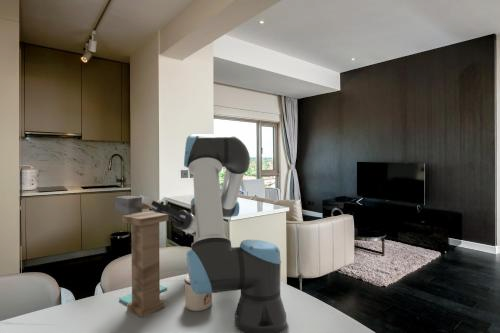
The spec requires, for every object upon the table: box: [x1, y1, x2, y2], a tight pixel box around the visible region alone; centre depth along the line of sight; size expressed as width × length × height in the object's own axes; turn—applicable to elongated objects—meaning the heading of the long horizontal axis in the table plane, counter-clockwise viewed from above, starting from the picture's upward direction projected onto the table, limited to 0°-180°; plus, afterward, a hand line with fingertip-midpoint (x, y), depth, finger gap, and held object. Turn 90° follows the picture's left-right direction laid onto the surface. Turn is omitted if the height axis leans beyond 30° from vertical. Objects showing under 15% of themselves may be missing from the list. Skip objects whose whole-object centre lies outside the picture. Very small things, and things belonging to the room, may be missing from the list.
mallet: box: [114, 195, 162, 215], centre depth 106 cm, size 15×8×5 cm, turn 144°
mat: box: [119, 284, 168, 305], centre depth 105 cm, size 6×15×1 cm, turn 144°
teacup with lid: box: [184, 274, 213, 312], centre depth 99 cm, size 12×9×12 cm
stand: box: [121, 210, 169, 318], centre depth 95 cm, size 10×10×30 cm
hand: (141, 198), depth 106 cm, fingers closed on mallet, 2 cm apart
